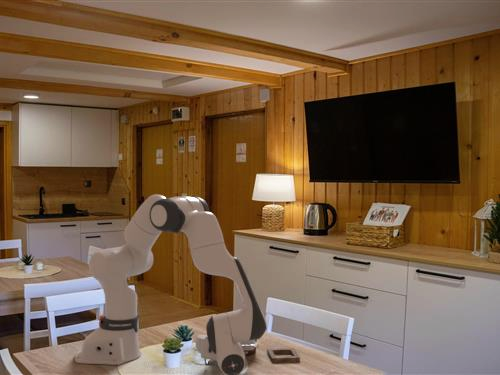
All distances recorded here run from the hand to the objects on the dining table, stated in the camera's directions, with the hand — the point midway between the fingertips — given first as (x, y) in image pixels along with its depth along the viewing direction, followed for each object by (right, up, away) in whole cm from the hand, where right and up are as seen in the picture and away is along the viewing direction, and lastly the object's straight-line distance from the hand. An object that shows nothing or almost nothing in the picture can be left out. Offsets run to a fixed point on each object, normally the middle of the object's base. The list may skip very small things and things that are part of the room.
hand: (223, 334), depth 180 cm
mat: (-1, -9, +2) cm, 9 cm away
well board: (+21, -10, +5) cm, 24 cm away
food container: (+9, -9, +9) cm, 16 cm away
